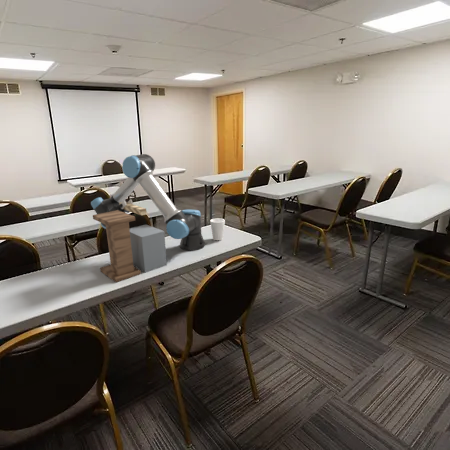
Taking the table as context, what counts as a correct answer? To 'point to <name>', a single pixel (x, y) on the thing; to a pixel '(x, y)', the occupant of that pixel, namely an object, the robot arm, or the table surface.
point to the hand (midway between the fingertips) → (128, 202)
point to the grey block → (148, 247)
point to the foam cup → (217, 228)
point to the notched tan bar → (135, 209)
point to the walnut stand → (118, 245)
